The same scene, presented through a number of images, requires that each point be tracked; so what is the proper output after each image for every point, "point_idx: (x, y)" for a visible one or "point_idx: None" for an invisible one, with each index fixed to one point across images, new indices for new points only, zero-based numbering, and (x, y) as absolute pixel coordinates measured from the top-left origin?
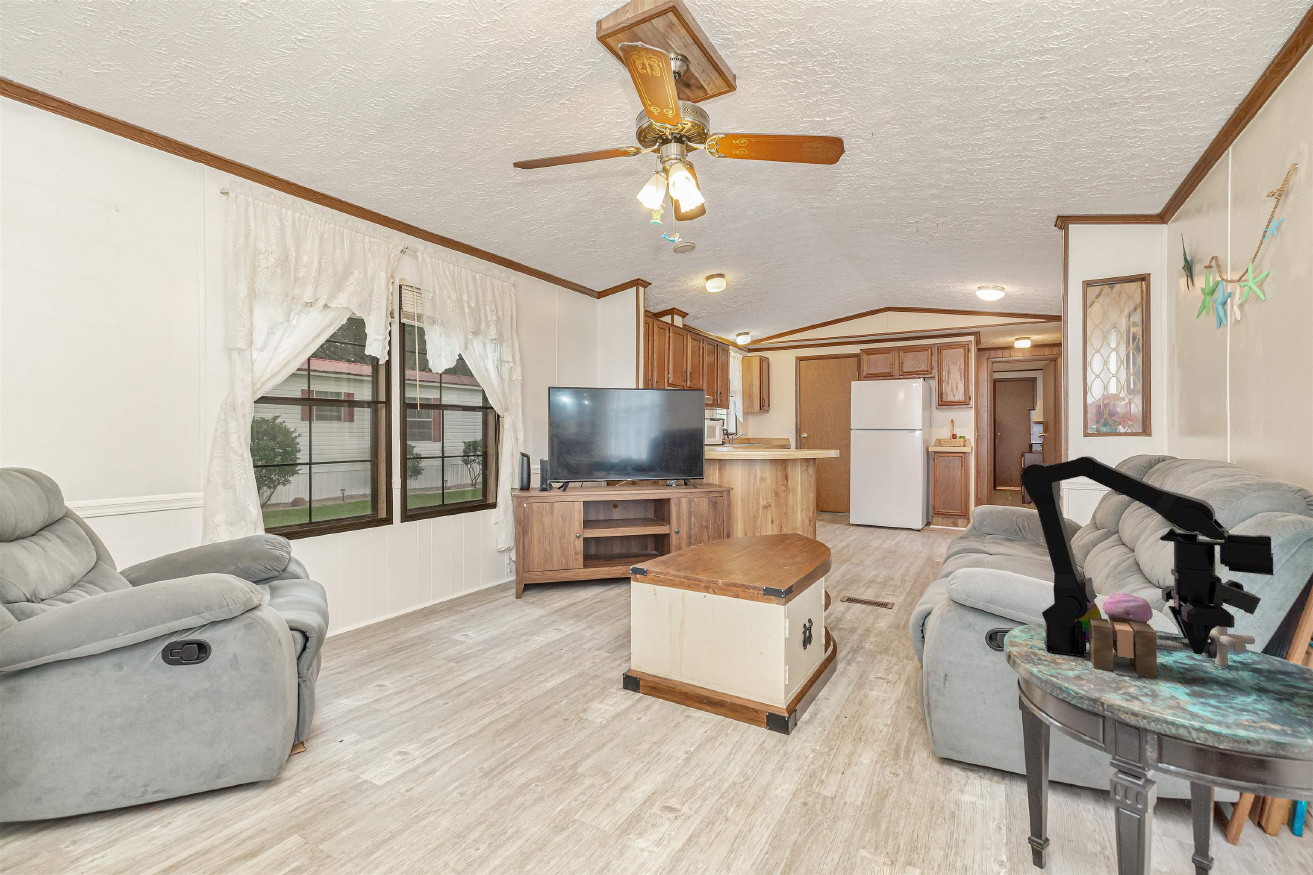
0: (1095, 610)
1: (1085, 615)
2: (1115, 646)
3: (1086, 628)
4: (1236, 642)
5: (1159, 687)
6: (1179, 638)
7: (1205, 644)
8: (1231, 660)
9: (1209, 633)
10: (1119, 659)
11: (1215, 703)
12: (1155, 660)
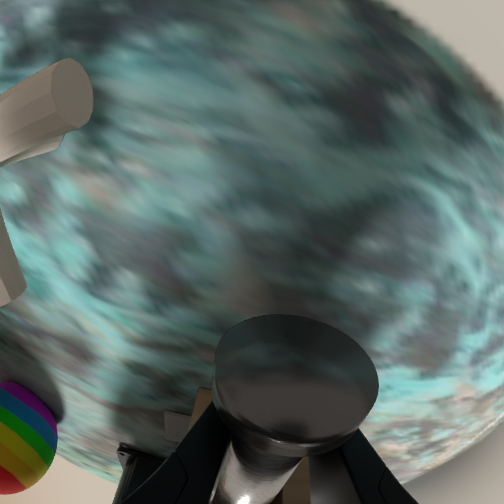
0: (3, 456)
1: (34, 468)
2: (217, 486)
3: (48, 442)
4: (48, 116)
5: (384, 413)
6: (279, 485)
7: (365, 437)
8: (4, 85)
9: (412, 498)
10: (180, 429)
11: (482, 337)
12: None
